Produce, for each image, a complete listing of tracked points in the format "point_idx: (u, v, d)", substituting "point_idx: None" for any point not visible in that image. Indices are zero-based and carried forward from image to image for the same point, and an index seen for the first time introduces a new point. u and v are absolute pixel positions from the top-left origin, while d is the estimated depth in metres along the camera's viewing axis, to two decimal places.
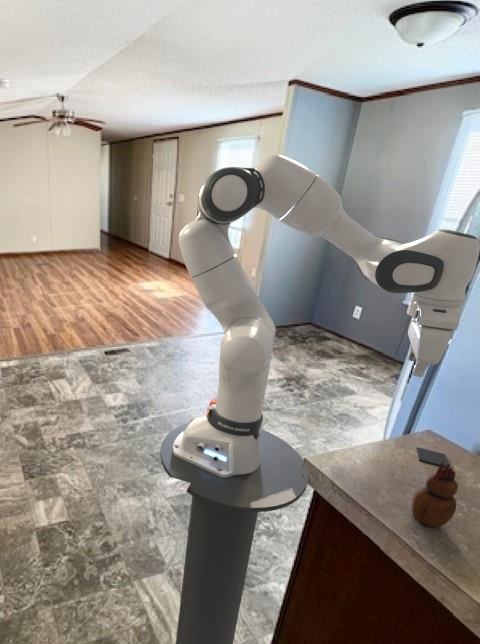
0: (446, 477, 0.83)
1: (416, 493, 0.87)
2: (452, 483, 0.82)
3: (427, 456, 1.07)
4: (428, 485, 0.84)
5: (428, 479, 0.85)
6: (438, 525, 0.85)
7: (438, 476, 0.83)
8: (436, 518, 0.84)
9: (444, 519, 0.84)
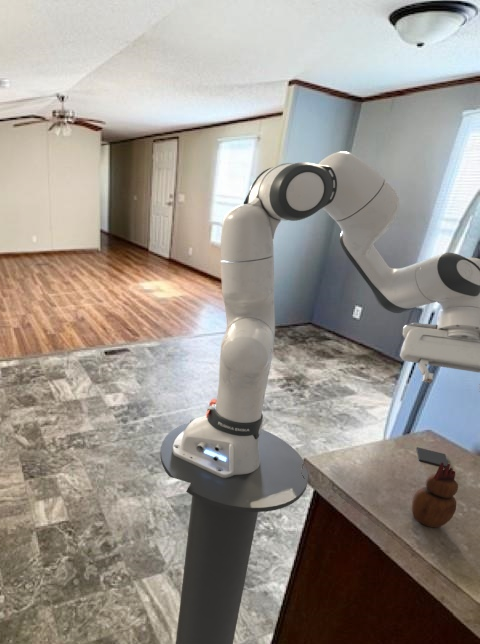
0: (446, 477, 0.83)
1: (416, 493, 0.87)
2: (452, 483, 0.82)
3: (427, 456, 1.07)
4: (428, 485, 0.84)
5: (428, 479, 0.85)
6: (438, 525, 0.85)
7: (438, 476, 0.83)
8: (436, 518, 0.84)
9: (444, 519, 0.84)
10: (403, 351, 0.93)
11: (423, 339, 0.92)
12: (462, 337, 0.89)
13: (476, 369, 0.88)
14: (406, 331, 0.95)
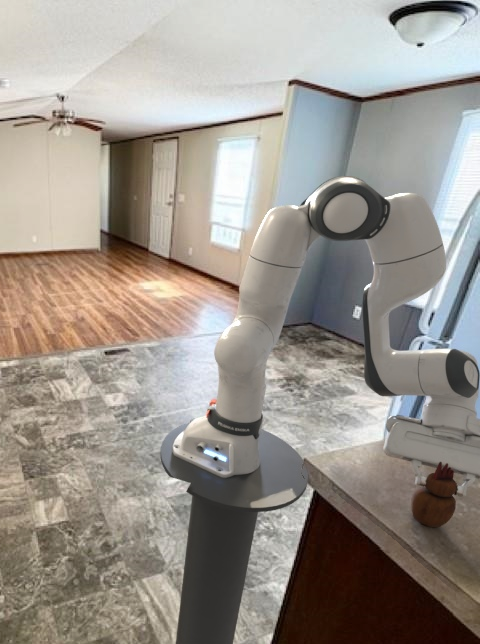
0: (445, 476, 0.83)
1: (415, 493, 0.87)
2: (451, 482, 0.82)
3: None
4: (427, 485, 0.84)
5: (427, 479, 0.85)
6: (438, 525, 0.85)
7: (437, 476, 0.83)
8: (435, 518, 0.84)
9: (444, 519, 0.84)
10: (387, 447, 0.89)
11: (407, 436, 0.88)
12: (447, 437, 0.85)
13: (461, 471, 0.85)
14: (390, 424, 0.91)
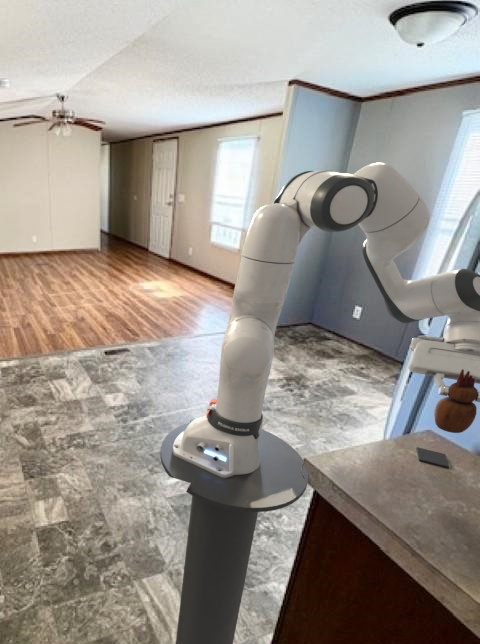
0: (466, 384, 0.91)
1: (438, 403, 0.95)
2: (472, 389, 0.90)
3: (427, 456, 1.07)
4: (450, 393, 0.92)
5: (450, 388, 0.93)
6: (460, 430, 0.93)
7: (459, 383, 0.91)
8: (458, 423, 0.92)
9: (466, 423, 0.92)
10: (412, 363, 0.97)
11: (431, 352, 0.96)
12: (468, 351, 0.93)
13: None
14: (414, 343, 0.99)
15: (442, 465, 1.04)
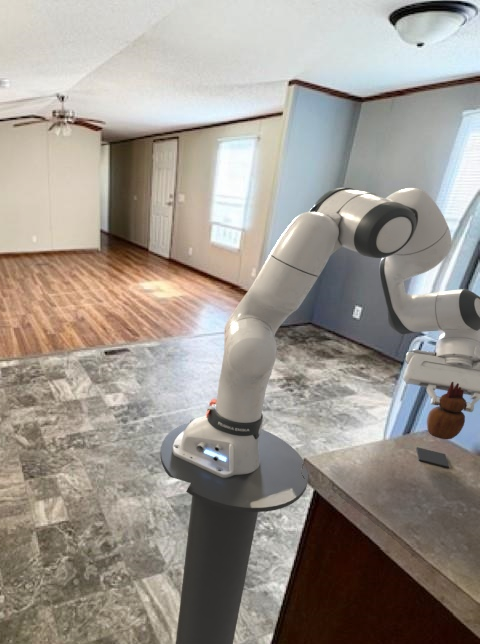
0: (456, 395, 1.00)
1: (431, 411, 1.03)
2: (461, 399, 0.99)
3: (427, 456, 1.07)
4: (441, 403, 1.01)
5: (441, 398, 1.01)
6: (450, 437, 1.02)
7: (449, 394, 1.00)
8: (448, 430, 1.01)
9: (455, 431, 1.00)
10: (406, 375, 1.06)
11: (424, 365, 1.05)
12: (458, 364, 1.02)
13: (469, 392, 1.02)
14: (409, 357, 1.08)
15: (442, 465, 1.04)
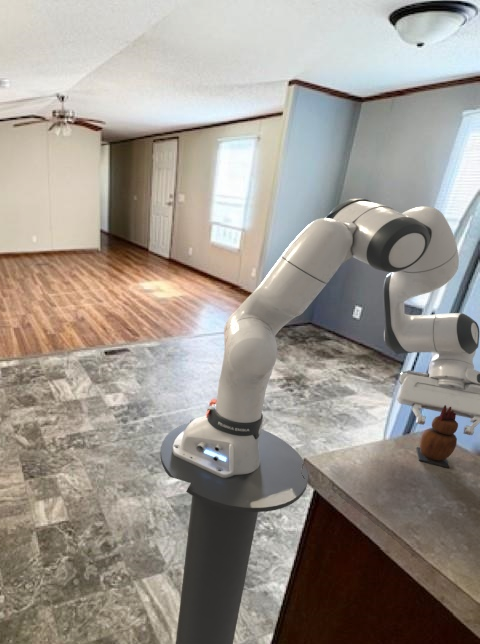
0: (448, 418, 1.02)
1: (423, 433, 1.06)
2: (453, 422, 1.01)
3: None
4: (433, 425, 1.03)
5: (433, 420, 1.04)
6: (442, 458, 1.04)
7: (442, 417, 1.02)
8: (440, 452, 1.03)
9: (447, 453, 1.03)
10: (400, 396, 1.08)
11: (417, 386, 1.07)
12: (450, 386, 1.05)
13: (461, 414, 1.04)
14: (402, 377, 1.10)
15: (442, 465, 1.04)
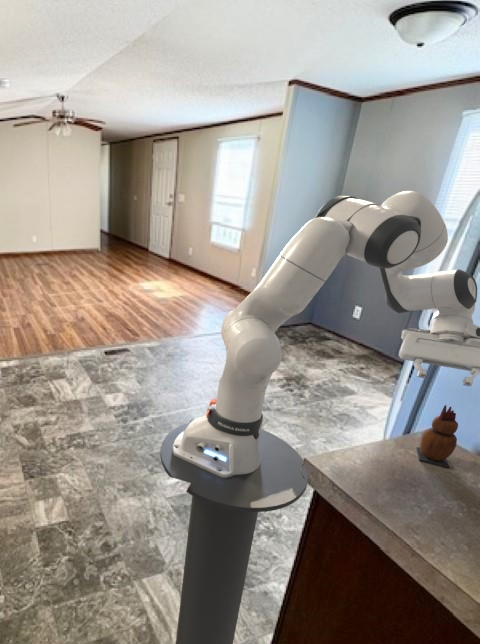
0: (448, 418, 1.02)
1: (423, 433, 1.06)
2: (453, 422, 1.01)
3: None
4: (434, 425, 1.03)
5: (434, 420, 1.04)
6: (442, 458, 1.04)
7: (442, 417, 1.02)
8: (440, 452, 1.03)
9: (447, 453, 1.03)
10: (402, 351, 1.12)
11: (418, 341, 1.12)
12: (450, 340, 1.09)
13: (461, 367, 1.08)
14: (404, 334, 1.15)
15: (442, 465, 1.04)
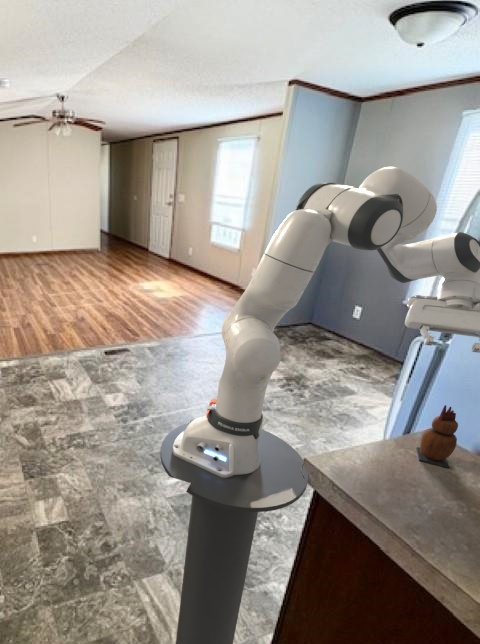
0: (448, 418, 1.02)
1: (423, 433, 1.06)
2: (453, 422, 1.01)
3: None
4: (434, 425, 1.03)
5: (434, 420, 1.04)
6: (442, 458, 1.04)
7: (442, 417, 1.02)
8: (440, 452, 1.03)
9: (447, 453, 1.03)
10: (408, 319, 1.08)
11: (425, 308, 1.08)
12: (458, 306, 1.05)
13: (469, 333, 1.04)
14: (410, 302, 1.11)
15: (442, 465, 1.04)
